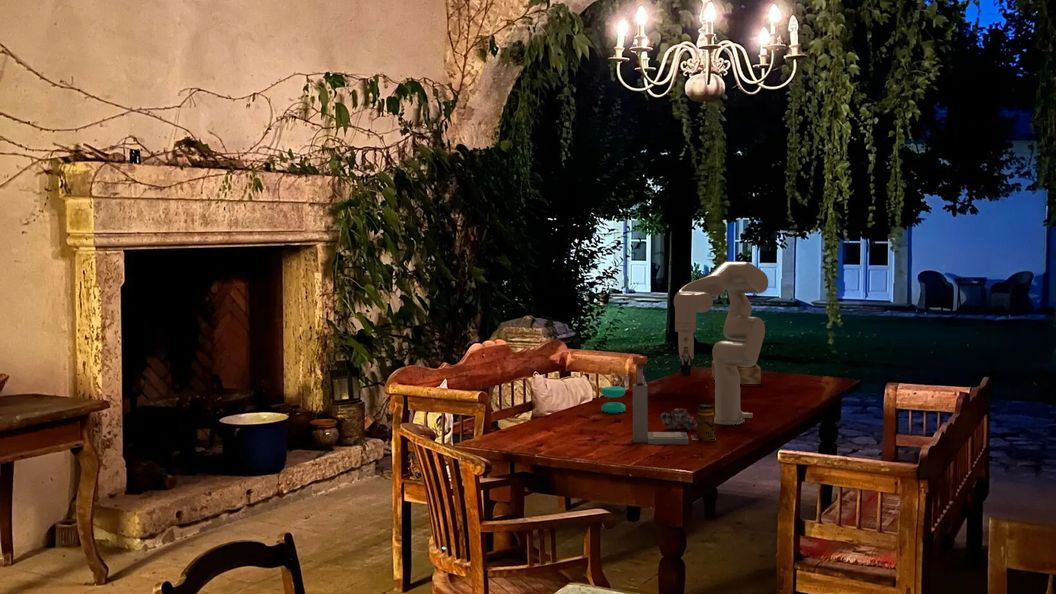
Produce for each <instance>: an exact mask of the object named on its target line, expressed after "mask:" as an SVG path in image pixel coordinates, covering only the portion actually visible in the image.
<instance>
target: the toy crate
mask: <svg viewBox="0 0 1056 594" xmlns="http://www.w3.org/2000/svg"><path fill="white" fill-rule="evenodd" d="M736 369H737V370H738V372H739V375H740V384H762V383H761V382H762V379H761V378H762V377H761V375H762V373H761V372H762V371H761V370H762V368H761V367H760V366H759V365H758V364H757V362H756V363H755V365H753V366H751V367H749V368H736ZM712 377H713V378H714V380H715V366H714V360H711V378H712Z"/></svg>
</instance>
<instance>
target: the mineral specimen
mask: <svg viewBox="0 0 1056 594" xmlns="http://www.w3.org/2000/svg"><path fill="white" fill-rule="evenodd" d="M659 417H660V418H661V423H662V424H663V426H665V428H668V430H672V429H673V430H675V429H676V430H678V427H679V428H682V429H684V428H685V429H686V430H687V431H688V432H692V430H693V429H694V428H697V420H695V418H694V416H690V413H688V410H687V408H683V407H680V408H674V409H673V411H669V412H668V413H667V412H662V413H661V414H660V415H659ZM676 430H675V431H676Z"/></svg>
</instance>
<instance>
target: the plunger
mask: <svg viewBox="0 0 1056 594" xmlns="http://www.w3.org/2000/svg"><path fill="white" fill-rule="evenodd" d="M632 364H633V365H636V384H637V386H643V384H644V380H643V379H644V376H643V375H644V373H643V371H644V366H643V365H647V364H648V356H646V355H634V356H632Z"/></svg>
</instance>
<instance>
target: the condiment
mask: <svg viewBox="0 0 1056 594" xmlns="http://www.w3.org/2000/svg"><path fill="white" fill-rule="evenodd" d="M697 411H698V412H697V414H696V423H697V426H696V428H697V429H696V434H697V435H693V434H691V435H690V438H692V439H691V440H692V441H694V440H695V441H700V440H699V439H702V440H701V441H711V440H710V439H714V437H715V440H714V441H716V440H717V439H716V436H715V423H714V417H715V413H714V406H713V405H712V404H708V403H707V404H706V403H705V404H704V403H703V404H699V405H698V406H697Z"/></svg>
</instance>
